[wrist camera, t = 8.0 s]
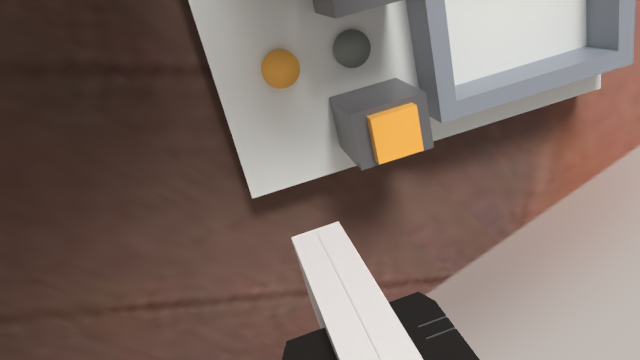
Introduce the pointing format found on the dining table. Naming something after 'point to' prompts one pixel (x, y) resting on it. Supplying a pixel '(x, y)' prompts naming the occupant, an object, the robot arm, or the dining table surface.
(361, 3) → the toggle
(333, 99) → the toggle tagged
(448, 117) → the frame
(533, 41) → the panel
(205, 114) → the dining table surface
